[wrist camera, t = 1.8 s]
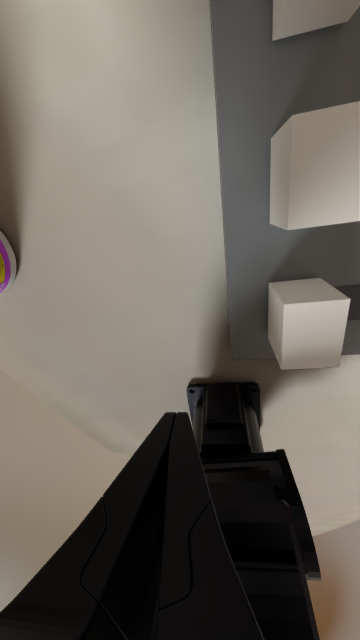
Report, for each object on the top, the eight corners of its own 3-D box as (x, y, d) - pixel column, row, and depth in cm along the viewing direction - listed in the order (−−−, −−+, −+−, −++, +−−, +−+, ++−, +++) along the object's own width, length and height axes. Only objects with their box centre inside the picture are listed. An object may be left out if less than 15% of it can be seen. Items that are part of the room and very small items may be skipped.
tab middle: (326, 215, 13) (364, 220, 10) (269, 223, 14) (287, 230, 10) (336, 125, 11) (385, 95, 8) (270, 138, 12) (292, 114, 9)
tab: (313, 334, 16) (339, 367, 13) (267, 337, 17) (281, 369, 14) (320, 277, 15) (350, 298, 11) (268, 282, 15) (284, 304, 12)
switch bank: (422, 335, 18) (448, 351, 16) (230, 346, 20) (232, 361, 18) (618, -258, 8) (746, -403, 6) (203, -104, 10) (201, -173, 8)
